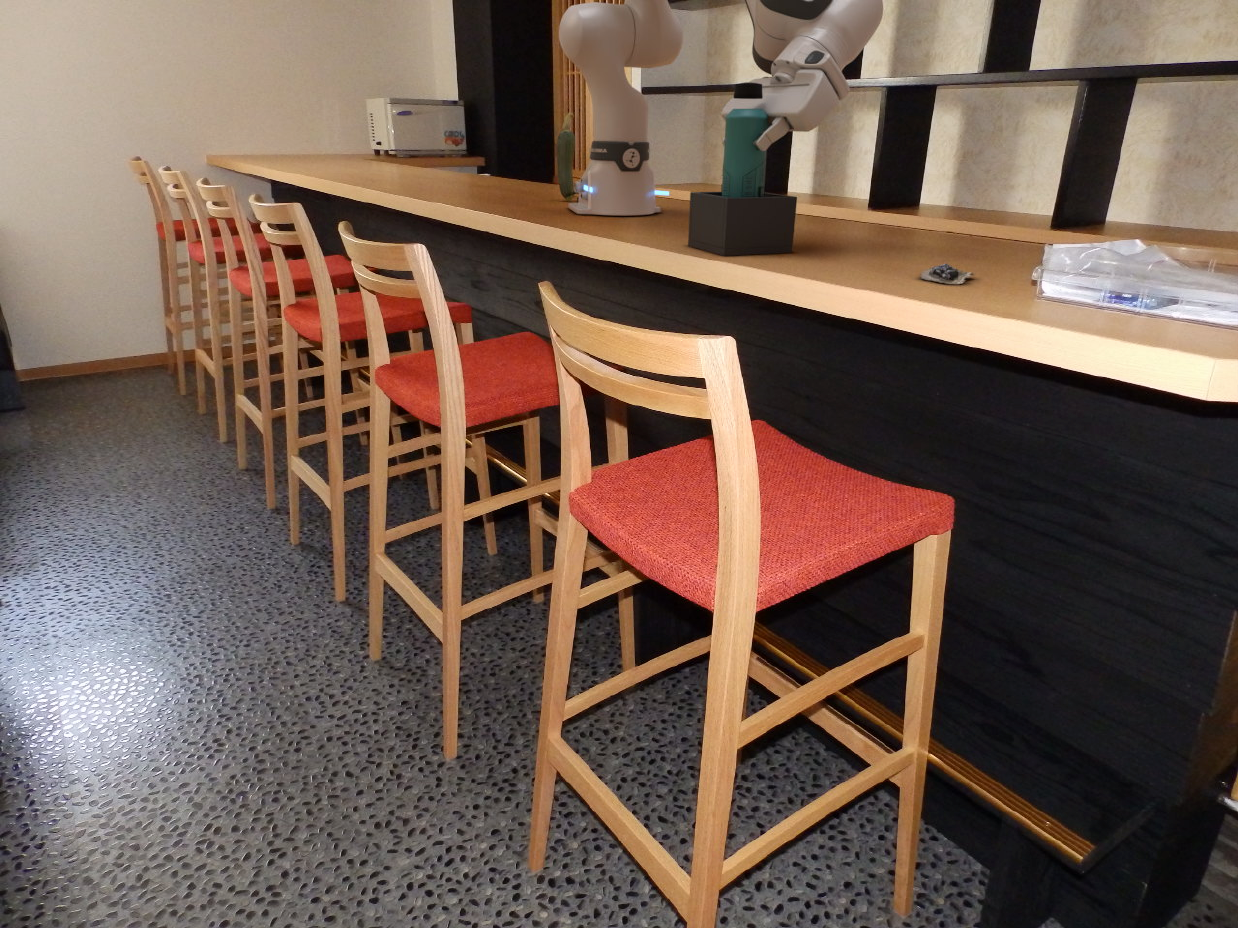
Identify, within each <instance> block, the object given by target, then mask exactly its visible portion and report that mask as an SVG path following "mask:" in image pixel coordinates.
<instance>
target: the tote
mask: <svg viewBox="0 0 1238 928" xmlns="http://www.w3.org/2000/svg"><path fill="white" fill-rule="evenodd" d="M797 202H798V197H797V196H794V195H786V194H779V193H772V192H766V191H765V196H764V197H741V198H728V197H722V195H721V191H690V193H689V214H688V236H687V237H688V238H687V239H688V240H687V246H688V247H691V248H694V249H698V250H702V251H706V252H709V253H712V254H716V255H720V256H722V257H732V256H733V257H734V256H753V255H775V254H777V255H778V254H792V253H793V250H794V249H793V248H794V247H793V246H794V237H795V226H796V214H797Z"/></svg>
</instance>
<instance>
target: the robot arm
mask: <svg viewBox="0 0 1238 928" xmlns="http://www.w3.org/2000/svg"><path fill="white" fill-rule="evenodd" d="M744 2H745V5H746V8H747V11H748V14H749V16H750V20H751V23H752V27H753V40H752V46H751V47H752V48H751V52H752V53H751V54H752V58H753V59H752V60H753V62H754V63H755V65H756V67H758V68H759V69H760V70H761V71H762V72H764V73H766V74H768V75H771V76H763V77H761V78H754V79H752V80H750V81H749V82H752V83H759V84H762V94H763V98H762V99H734V96H732V98H731V99H730V100H729V101H728V102H727V103H726V104H725V105H724V107H723V108H722V110H721V118H722V119H723V121H724V122H725V123H726V120H725V117H726V116H727V114H728V113H729V112H730V111H731V110H733V109H763V110H764V112H765V113H766V115H767V116H768V117H769V120H768V129H767V130H766V131H765V132H764V133H762V134H758V136H757V137H756V139H754V140H753V146H754V147H755V148H756V150H757V151H766V149H767V150H768V148H769V147H770V146H771V145H772V144H774V143H775V142H777V141H778V140H779V139H781V138H782V137H784V136H785V135H786V134H787V133H788V132H800V133H802V132H803V133H809V132H811V131H813V130H814V129H816V128H818V127H819V126H820V125H821V124H822V123H823V122H824V121H825V119H827V117H828V116H830V114H831V113H832V111H833V110H834V109H835V108H836V106H838V103H839V101H842V100H844V99H845V98H846V97H847V96H848V95H849V93H850V92H851V88H850V86H849V83H848V82H847V79H846V77H845V75H844V74H843V70H844V68H845V67H846V66H847V65H849V64H850V63H852V62H853V61H854V60H855V59H856V58H857V57H858V56H859V54H860V53H861V52H862V51H863V49H864V48H865V46H866V45H867V44H868V43H869V41H871V39H872V37H873V36H874V34H875V33H876V31H877V29H878V28H879V26H880V24H881V22H882V19H883V15H884V1H883V0H744ZM558 41H559V44H560V47H561V50H562V52H563V53H564V55H565V56H566V58H567V59H568V60H569V61H570V62H572V63H573V65H574V66H575V67H576V68H577V69H578V70H579V72H580V73H581V75H582V78H583V79H584V80H585V84H586V85H587V87H588V91H589V94H590V98H591V105H592V120H593V121H592V122H593V140H592V141H591V144H590V145H591V146H590V148H589V149H590V150H589V159H590V161H589V163H588V165H587V167H586V169H585V170H584V172H583V174H582V176H581V178H580V179H579V180H576V181H574V182H573V188H574V193H573V196H575V195H578V196H577V197H576V200H577V201H578V202H571V203H570V202H569V203H568V204H567V205H568V206H567V208H568V209H569V210H570V211H572V212H574V213H575V214H577V215H596V216H597V215H598V216H646V215H652V214H656V213H661V212H662V211H661V207H660V206H656V196H670V191H669V190H668V191H667V190H658V189H657V190H656V184H655V183H656V182H655V181H656V180H655V172H654V170H653V169H652V168H651V167H650V165H649V162H648V161H649V160H650V153H651V149H650V143H649V141H648V133H649V131H648V128H649V104H648V101H647V99H646V97H645V96H644V94H643V93H641V91H639V90H638V89H636V88H635V87H633V86H632V84H630V83H629V80H628V78H627V75H626V72H625V71H626V70H625V68H634V69H635V68H637V69H653V68H660V67H663V66H668V65H671V64H673V63H674V62H675V61H676V59H677V58H678V56H679V55H680V53H681V50H682V47H683V42H684V32H683V27H682V24H681V21H680V19H679V18H678V15H676V13H675V12H674V11H673V9H672V8H671V6H670V3H669V1H668V0H624V3H623V4H619V3H610V2H598V1H597V2H596V1H592V2H584V3H579V4H573V5H570V6H569V7H568V8H566V10H565V11H564V13H563V14H562V17H561V19H560V22H559V26H558ZM721 144H722V145H723V146H724V144H725V136H724V137H723V138H722V140H721Z"/></svg>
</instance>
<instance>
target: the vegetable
mask: <svg viewBox="0 0 1238 928" xmlns="http://www.w3.org/2000/svg"><path fill="white" fill-rule="evenodd" d="M574 118H575V114H574V113H572V111H570V112H568V113H567V114H566V115H565V117H564V120H563V123H562V127H561V128H562V130H561V131H560V132H559V133H558V136H557V138H556V139H557V141H556V158H557V159H556V163H557V165H556V166H557V180H558V181H557V182H558V186H559V192H560V194H561V196H562V197H563V198H564V200H565V201H566V202H571V200H573V199H574V198H573V197H574V195H573V193H574V178H573V161H574V157H575V149H576V137H575V134H574V132H573V131H572V130H571V126H572V120H574Z"/></svg>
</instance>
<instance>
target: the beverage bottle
mask: <svg viewBox="0 0 1238 928" xmlns="http://www.w3.org/2000/svg"><path fill="white" fill-rule="evenodd" d="M733 97H734V99H762V98H763V94H762V84H759V83H752V82H750V81H748V82H747V81H745V82H741V83H736V84H735V85H734V92H733ZM725 120H726V122H725V125H724V126H725V127H724V137H725V144H724V145H723V147H724V148H723V158H722V178H721V179H722V182H721V185H720V192H721V195H722V197H728V198H741V197H764V196H765V192H766V185H765V184H766V178H767V177H766V176H767V172H766V170H767V158H768V151H769V150H768V148H767V149H766V151H757V150H756V148H755V147H754V146H753V140H754V139H756V137H757V136H758V134H762V133H764V132H765V131H766V130H767V129H768V120H769V117H768V116H767V115H766V113H765V112H764V110H763V109H733V110H731V111H730V112H729V113H728V114H727V116H726V117H725ZM725 120H724V121H725Z"/></svg>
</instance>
